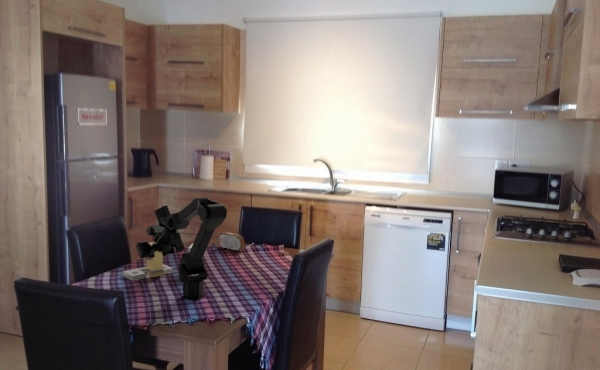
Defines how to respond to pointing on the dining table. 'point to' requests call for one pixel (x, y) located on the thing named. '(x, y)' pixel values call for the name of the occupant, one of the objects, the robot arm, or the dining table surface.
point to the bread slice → (231, 241)
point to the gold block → (155, 264)
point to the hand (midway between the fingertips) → (153, 258)
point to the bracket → (143, 272)
